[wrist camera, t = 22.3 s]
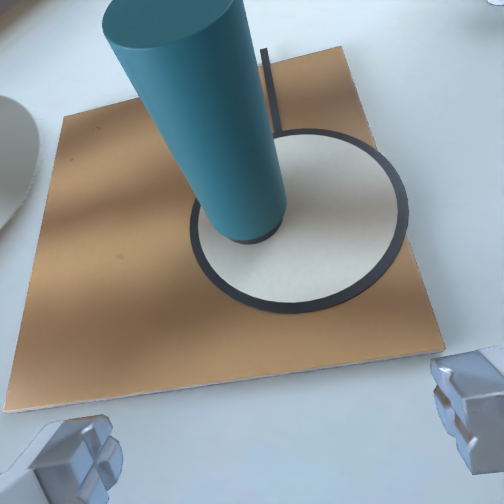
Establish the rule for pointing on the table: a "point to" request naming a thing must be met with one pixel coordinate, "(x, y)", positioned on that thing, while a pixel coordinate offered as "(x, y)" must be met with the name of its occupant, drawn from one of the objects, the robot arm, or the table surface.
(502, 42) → the table surface
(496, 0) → the block with arch cutout
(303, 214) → the brown flat square board
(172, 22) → the teal cylinder
